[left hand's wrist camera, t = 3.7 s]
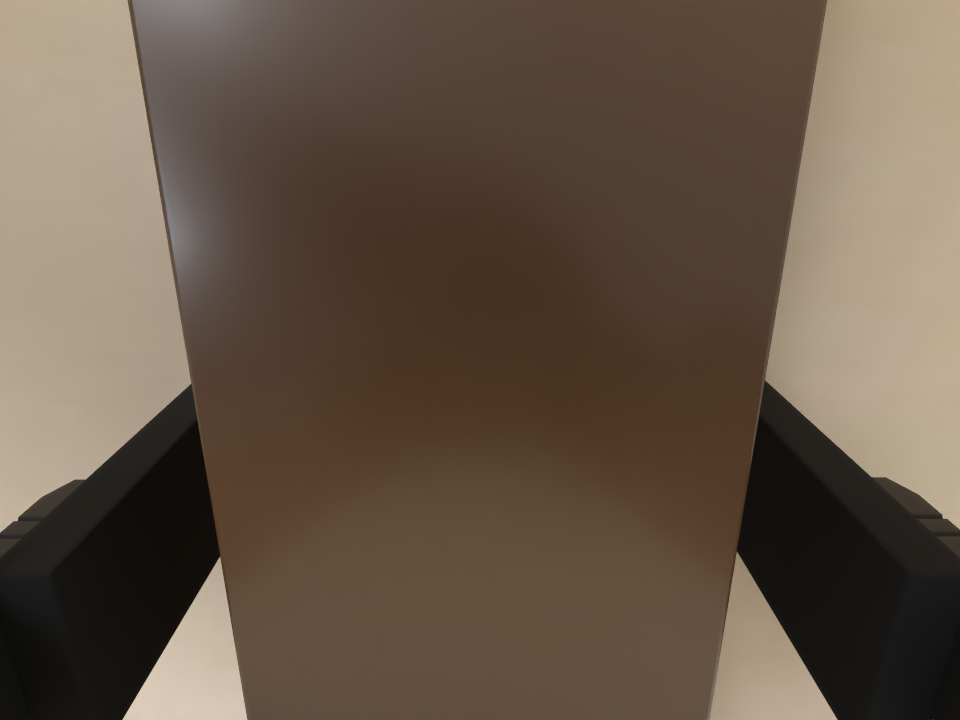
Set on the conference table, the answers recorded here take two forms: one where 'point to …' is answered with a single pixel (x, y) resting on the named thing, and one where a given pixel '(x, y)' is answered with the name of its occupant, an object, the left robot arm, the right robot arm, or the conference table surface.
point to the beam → (477, 335)
